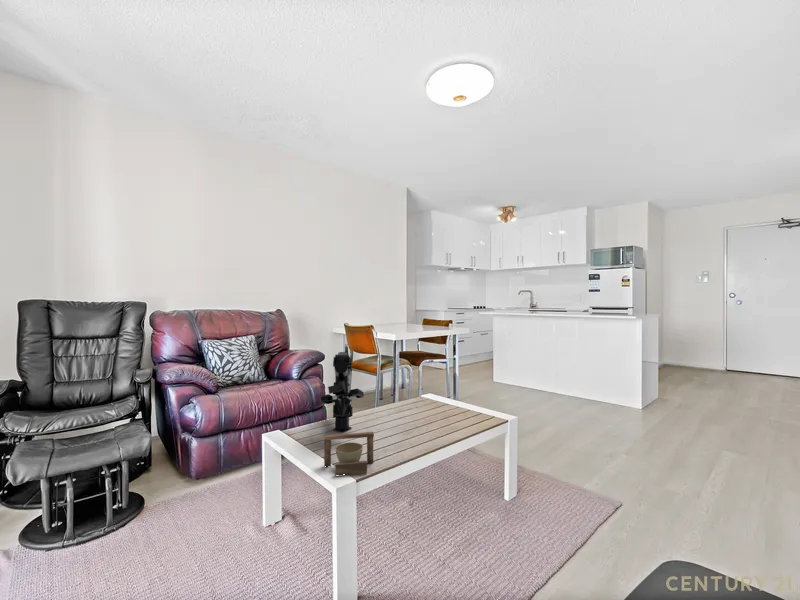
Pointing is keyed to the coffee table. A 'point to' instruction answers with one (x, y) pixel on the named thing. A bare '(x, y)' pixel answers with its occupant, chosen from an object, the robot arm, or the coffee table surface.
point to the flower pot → (349, 452)
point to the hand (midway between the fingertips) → (341, 416)
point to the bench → (349, 467)
